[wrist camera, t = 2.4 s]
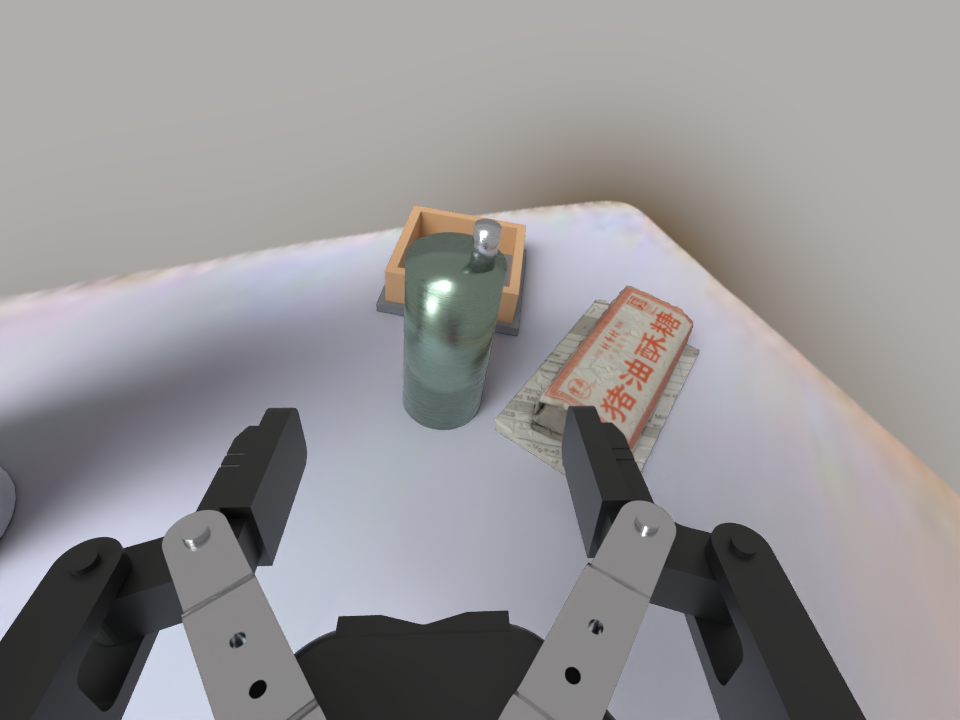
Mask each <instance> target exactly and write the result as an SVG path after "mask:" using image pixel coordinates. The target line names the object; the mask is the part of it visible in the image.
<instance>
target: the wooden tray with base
mask: <svg viewBox="0 0 960 720" xmlns="http://www.w3.org/2000/svg"><path fill="white" fill-rule="evenodd" d="M479 219H487V218H481V217H476V216H470V215H464V214H459V213H453V212H448V211H442V210H436V209H430V208H425V207H420V206H414V207H413V210H412V212H411V214H410V216H409V218H408V221H407V223H406V225H405V227H404V230H403V232H402V234H401V236H400V239H399V241H398V243H397V245H396V247H395V250H394V252H393V254H392V256H391V259H390V261H389V263H388V265H387V268H386V270H385V285H384V287H383V290H382V292H381V294H380V297H379V299H378V301H377V311H380V312H386V313H391V314H397V315H403V316H404V299H405V255H406V251H407V249H408V248H409V246H410V245H411V244H412V243H413V242H414V241H416V240H418V239H419V238H421V237H424V236H427V235H430V234H434V233H441V232H457V233H464V234H469V235H473V232H474V224H475V222H476V221H477V220H479ZM495 221H497V222H498V223H499V224H500V225H501V227H502V228H501V234H500V239H499V245H498V249H499V250H500V251H501V252H502V254H503V255H504V257H505V259H506V261H507V272H506V277H505V282H504V287H503V292H502V297H501V302H500V307H499V312H498V317H497V322H496V327H495V332H498V333H504V334H510V335H515V336H517V334H518V330H519V321H520V311H521V300H522V290H523V280H524V270H525V260H526V250H524V240H525V231H526V225H520V224H515V223H509V222H504V221H498V220H495Z"/></svg>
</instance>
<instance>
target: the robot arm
mask: <svg viewBox="0 0 960 720" xmlns="http://www.w3.org/2000/svg"><path fill="white" fill-rule="evenodd" d="M561 452H562V462H563V466H564V470H565V474H566V477H567V481H568V485H569V489H570V493H571V497H572V500H573V504H574V508H575V512H576V516H577V520H578V523H579V527H580V531H581V535H582V539H583V543H584V546H585V550H586V554H587V558H594V559H593V561H592V563H591V564H590V563H588V564H587V565H586V567H585V568H584V570H583V572H582V574H581V575H580V577H579V579H578V581H577V583H576V585H575V586H574V588H573V590H572V592H571V594H570V595H569V597H568V599H567V601H566V603H565V605H564V606H563V608H562V610H561V612H560V614H559V615H558V617H557V619H556V621H555V623H554V625H553V626H552V628H551V630H550V632H549V634H548V635H547V637H546V639H545V640H543V639H542V638H541V637H539V636H538V635H536V634H535V633H533V632H531V631H529V630H527V629H525V628H522V627H520V626H517V625H513V624H509V614H508V611H482V612H466V613H462V614H459V615H456V616H452V617H449V618H446V619H443V620H439V621H436V622H433V623H429V624H424V625H422V624H416V623H412V622H408V621H404V620H400V619H395V618H391V617H387V616H383V615H368V616H339V617H338V622H337V628H336V631H333V632H330V633H327V634H325V635H323V636H320V637H318V638H317V639H315V640H313V641H311V642H310V643H308V644H307V645H305V646H304V647H302V648H301V649H300V650H298V651H297V652H296V653H295V654H293V652H292V650H291V648H290V646H289V644H288V642H287V640H286V637H285V635H284V633H283V631H282V629H281V627H280V625H279V623H278V621H277V619H276V617H275V615H274V613H273V611H272V609H271V607H270V605H269V603H268V601H267V598H266V596H265V594H264V592H263V590H262V588H261V586H260V584H259V582H258V580H257V578H256V576H255V571H256V568H257V566H272V564H273V561H274V558H275V556H276V553H277V550H278V547H279V544H280V541H281V538H282V535H283V532H284V529H285V526H286V523H287V520H288V517H289V514H290V511H291V508H292V505H293V502H294V499H295V496H296V493H297V490H298V487H299V484H300V481H301V478H302V475H303V472H304V469H305V466H306V460H307V447H306V442H305V438H304V434H303V430H302V425H301V421H300V417H299V413H298V410H297V409H296V408H268V409H267V410H266V412H265V414H264V416H263V418H262V420H261V422H260V424H259V426H248V427H247V428H246V429H245V430H244V431H243V432H242V433H240V434H239V435H238V436H237V437H236V438H235V439H234V441H233V443H232V445H231V447H230V448H229V450H228V452H227V456H225V458H224V460H223V462H222V463H221V468H219V469H218V471H217V473H216V475H215V477H214V478H213V480H212V482H211V484H210V486H209V488H208V490H207V492H206V494H205V495H204V497H203V499H202V501H201V503H200V505H199V507H198V509H197V510H196V512H194V513H192V514H189V515H187V516H185V517H183V518H182V519H180V520H179V521H177V522H176V523H175V524H174V525H173V526H172V527H171V528H170V529H169V530H168V531H167V533H166V535H165V536H164V537H161V538H158V539H155V540H151V541H148V542H144V543H141V544H137V545H134V546H130V547H126V548H123V547H122V545H121V544H120V543H119V541H117V540H116V539H113V538H110V537H99V538H94V539H90V540H87V541H84V542H82V543H80V544H78V545H76V546H74V547H72V548H71V549H69V550H68V551H66V552H65V553H64V554H63V555H61V556H60V557H59V558H58V559H57V560H56V561H55V562H54V564H53V565H52V566H51V568H50V569H49V571H48V572H47V574H46V575H45V576H44V578H43V579H42V581H41V582H40V584H39V585H38V587H37V588H36V590H35V591H34V593H33V594H32V596H31V597H30V599H29V600H28V602H27V603H26V604H25V606H24V607H23V609H22V610H21V612H20V613H19V615H18V616H17V618H16V619H15V621H14V622H13V624H12V625H11V627H10V628H9V629H8V631H7V632H6V634H5V635H4V637H3V638H2V640H1V641H0V720H121V719H122V717H123V714H124V712H125V710H126V707H127V705H128V703H129V700H130V698H131V696H132V693H133V691H134V689H135V686H136V684H137V682H138V679H139V677H140V675H141V672H142V670H143V667H144V665H145V663H146V660H147V658H148V656H149V653H150V651H151V649H152V646H153V644H154V642H155V639H156V637H157V635H158V632H159V630H162V629H165V628H168V627H171V626H174V625H177V624H180V623H183V625H184V628H185V631H186V634H187V637H188V640H189V643H190V646H191V649H192V652H193V655H194V658H195V661H196V664H197V667H198V670H199V673H200V676H201V679H202V682H203V685H204V688H205V691H206V694H207V697H208V700H209V703H210V706H211V709H212V713H213V716H214V719H215V720H616V719H615V718H614V717H613V716H612V715H611V714H610V713H609V711H608V710H607V707H608V704H609V702H610V699H611V697H612V694H613V692H614V689H615V687H616V684H617V682H618V679H619V677H620V674H621V672H622V669H623V667H624V664H625V662H626V659H627V657H628V654H629V652H630V649H631V647H632V644H633V642H634V639H635V637H636V634H637V632H638V629H639V627H640V624H641V622H642V619H643V617H644V614H645V612H646V609H647V607H648V604H649V603H651V604H655V605H658V606H661V607H665V608H668V609H672V610H675V611H679V612H682V613H684V614H685V617H686V620H687V623H688V626H689V629H690V632H691V635H692V638H693V641H694V644H695V646H696V649H697V652H698V655H699V658H700V661H701V664H702V667H703V670H704V673H705V676H706V679H707V681H708V684H709V687H710V690H711V693H712V696H713V699H714V702H715V705H716V708H717V711H718V714H719V717H720V719H721V720H866V718H865V717H864V715H863V713H862V711H861V709H860V708H859V706H858V704H857V702H856V700H855V699H854V697H853V695H852V693H851V691H850V690H849V688H848V686H847V684H846V682H845V681H844V679H843V677H842V675H841V673H840V672H839V670H838V668H837V666H836V664H835V663H834V661H833V659H832V657H831V655H830V654H829V652H828V650H827V648H826V646H825V645H824V643H823V641H822V639H821V637H820V636H819V634H818V632H817V630H816V628H815V626H814V625H813V623H812V621H811V619H810V617H809V616H808V614H807V612H806V610H805V608H804V607H803V605H802V603H801V601H800V599H799V598H798V596H797V594H796V592H795V590H794V589H793V587H792V585H791V583H790V581H789V580H788V578H787V576H786V574H785V572H784V571H783V569H782V567H781V565H780V563H779V562H778V560H777V558H776V556H775V554H774V553H773V551H772V549H771V547H770V546H769V544H768V543H767V542H766V541H765V539H764V538H763V537H761V536H760V535H759V534H758V533H756V532H755V531H753V530H752V529H750V528H748V527H746V526H743V525H740V524H736V523H724V524H720V525H718V526H717V527H715V528H714V530H713V531H712V533H708V532H704V531H700V530H696V529H692V528H689V527H685V526H682V525H679V524H677V523H675V522H674V521H673V519H672V518H671V516H670V515H669V514H668V513H667V512H666V511H665V510H664V509H662V508H661V507H659V506H657V505H656V504H654V502H653V500H652V497H651V495H650V493H649V490H648V488H647V486H646V484H645V481H644V479H643V477H642V474H641V472H640V470H639V467H638V465H637V463H636V462H635V458H634V456H633V453H632V451H630V447H629V444H628V442H627V440H626V437H625V435H624V434H623V433H622V432H621V431H620V430H619V429H618V428H617V427H616V426H615V425H614V424H613V423H612V422H601V420H600V417H599V415H598V412H597V410H596V408H595V406H569V407H568V410H567V415H566V421H565V427H564V433H563V439H562V448H561ZM15 501H16V495H15V486H14V484H13V482H12V480H11V478H10V476H9V474H8V473H7V472H6V471H5V470H3V469H2V468H1V467H0V538H1V536H2V535H3V534H4V532H5V530H6V528H7V526H8V524H9V522H10V519H11V517H12V515H13V511H14V506H15Z"/></svg>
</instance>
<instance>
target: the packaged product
mask: <svg viewBox="0 0 960 720" xmlns="http://www.w3.org/2000/svg"><path fill="white" fill-rule="evenodd" d="M692 328H693V322H692V320H691V319H690V318H689V317H688V316H687V315H686V314H684V312H683V310H681V309H680V308H679V307H677V306H675V307H674V306H672V305H670V304H669V303H667V302H664V301H661V300H660V299H658V298H655V297H654V296H652V295H650V294H648V293H645V292H643V291H640V290H638V289H636V288H634V287H631V286H626V287H625V289H623V290H622V291H621V292H620V294H619V295H618V296H617V298H616V299H615V300H613V301H612V302H611V303H610V304H608V303H607V302H606V301H604V300H595V302H594V303H593V304H592V306H591V307H590V308H589V309H588V310H587V312H586V313H585V314H584V315H583V316H582V318H581V319H580V320H579V321H578V323H577V324H576V325H575V326H574V327H573V328H572V330H570V332H569V333H568V334H567V335H566V337H565V338H564V339H563V340H562V341H561V342H560V343H559V344H558V345H557V347H556V348H555V349H554V351H553V352H552V353H551V354H550V355H549V356H548V358H547V359H546V360H545V361H544V363H543V364H542V365H541V366H540V367H539V368H538V370H537V371H536V372H535V374H534V375H533V376H532V377H531V378H530V379H529V380H528V381H527V382H526V384H525V385H524V386H523V387H522V388H521V390H520V391H519V392H518V393H517V394H516V395H515V397H514V398H513V399H512V400H511V401H510V402H509V404H508V405H507V407H506V408H505V409H504V410H503V411H502V412H501V413H500V414H499V415H498V416H497V418H496V419H495V430H496V431H498V432H499V433H500V434H502V435H503V436H505V437H507V438H508V439H510V440H511V441H513V442H514V443H516V444H517V445H519V446H521V447H522V448H524V449H525V450H527V451H528V452H530V453H531V454H533V455H535V456H537V457H538V458H539V459H541V460H542V461H544V462H545V463H547V464H548V465H550V466H551V467H553V468H555V469H556V470H558V471H559V472H561V473H562V474H564V475H566V474H565V470H564V466H563V462H562V452H561V448H562V439H563V433H564V427H565V421H566V415H567V410H568V407H569V406H595V408H596V410H597V412H598V415H599V417H600V420H601V422H612V423H613V424H614V425H615V426H616V427H617V428H618V429H619V430H620V431H621V432H622V433H623V434H624V435H625V437H626V440H627V442H628V444H629V447H630V451H632V453H633V456H634V458H635V462H636V463H637V465H638V467H639V470H640V472H641V470H642V468H643V466H644V464H645V462H646V460H647V458H648V456H649V454H650V452H651V450H652V448H653V446H654V443H655V441H656V439H657V437H658V435H659V433H660V431H661V429H662V427H663V424H664V422H665V420H666V419H667V417H668V415H669V413H670V411H671V409H672V405H673V403H674V401H675V400H676V398H677V395H678V393H679V391H680V390H681V389H682V386H683V384H684V382H685V380H686V377H687V375H688V373H689V371H690V369H691V367H692V365H693V363H694V361H695V359H696V357H697V355H698V353H699V349H696V348H694V347H692V346H690V345H688V344H686V343H687V341H688V338H689V335H690V333H691V331H692Z"/></svg>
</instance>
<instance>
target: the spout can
mask: <svg viewBox="0 0 960 720" xmlns="http://www.w3.org/2000/svg"><path fill="white" fill-rule="evenodd" d="M501 228H502V227H501V225H500V224H499V223H498V222H497V221H495V220H492V219H479V220H477V221H476V222H475V224H474V232H473V235H469V234H464V233H457V232H441V233H434V234H430V235H427V236H424V237H421V238H419V239H418V240H416V241H414V242H413V243H412V244H411V245H410V246H409V248H408V249H407V251H406V255H405V299H404V361H403V404H404V407H405V409H406V411H407V413H408V414H409V415H410V416H411V417H412V418H413V419H414V420H415V421H416V422H418V423H419V424H421V425H423V426H426V427H429V428H432V429H439V430H447V429H454V428H457V427H460V426H463V425H465V424H466V423H468V422H469V421H470V420H472V419H473V417H474V416H475V415H476V413H477V412H478V409H479V406H480V401H481V396H482V391H483V386H484V381H485V376H486V371H487V366H488V361H489V356H490V351H491V347H492V342H493V337H494V332H495V327H496V322H497V317H498V312H499V307H500V302H501V297H502V292H503V287H504V282H505V277H506V272H507V261H506V259H505V257H504V255H503V254H502V252H501V251H500V250H499V249H498V245H499V239H500V234H501Z"/></svg>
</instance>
